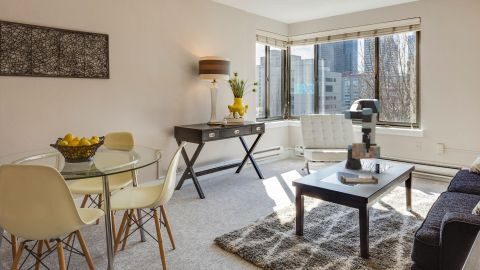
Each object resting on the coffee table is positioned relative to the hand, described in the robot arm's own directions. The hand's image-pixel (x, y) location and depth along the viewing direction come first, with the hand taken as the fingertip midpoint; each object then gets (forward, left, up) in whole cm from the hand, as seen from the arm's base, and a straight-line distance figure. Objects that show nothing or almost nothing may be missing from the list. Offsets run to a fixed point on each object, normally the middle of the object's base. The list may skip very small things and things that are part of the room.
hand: (365, 155), depth 274 cm
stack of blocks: (0, 0, -2) cm, 2 cm away
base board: (+6, -6, -20) cm, 22 cm away
